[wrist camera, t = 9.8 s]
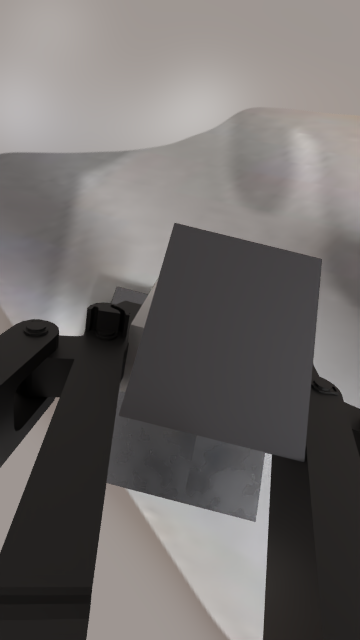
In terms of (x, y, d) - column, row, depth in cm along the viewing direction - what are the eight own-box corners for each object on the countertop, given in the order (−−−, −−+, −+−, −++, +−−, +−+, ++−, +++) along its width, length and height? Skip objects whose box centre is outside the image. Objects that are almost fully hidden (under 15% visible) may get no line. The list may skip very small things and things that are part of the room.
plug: (227, 353, 19) (321, 259, 8) (211, 438, 17) (304, 462, 6) (164, 337, 19) (174, 222, 8) (142, 421, 17) (118, 415, 6)
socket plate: (272, 335, 31) (284, 326, 28) (246, 512, 26) (258, 524, 23) (119, 296, 31) (116, 283, 28) (62, 464, 26) (50, 470, 23)
